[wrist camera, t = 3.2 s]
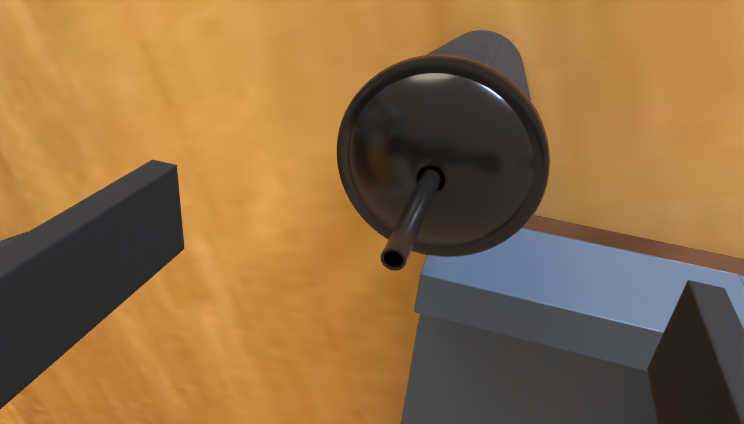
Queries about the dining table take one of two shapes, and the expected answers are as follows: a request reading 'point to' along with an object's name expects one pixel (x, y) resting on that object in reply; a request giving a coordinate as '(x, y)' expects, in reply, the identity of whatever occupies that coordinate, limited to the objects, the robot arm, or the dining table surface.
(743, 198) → the dining table surface
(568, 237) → the sofa
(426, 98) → the drinking cup
